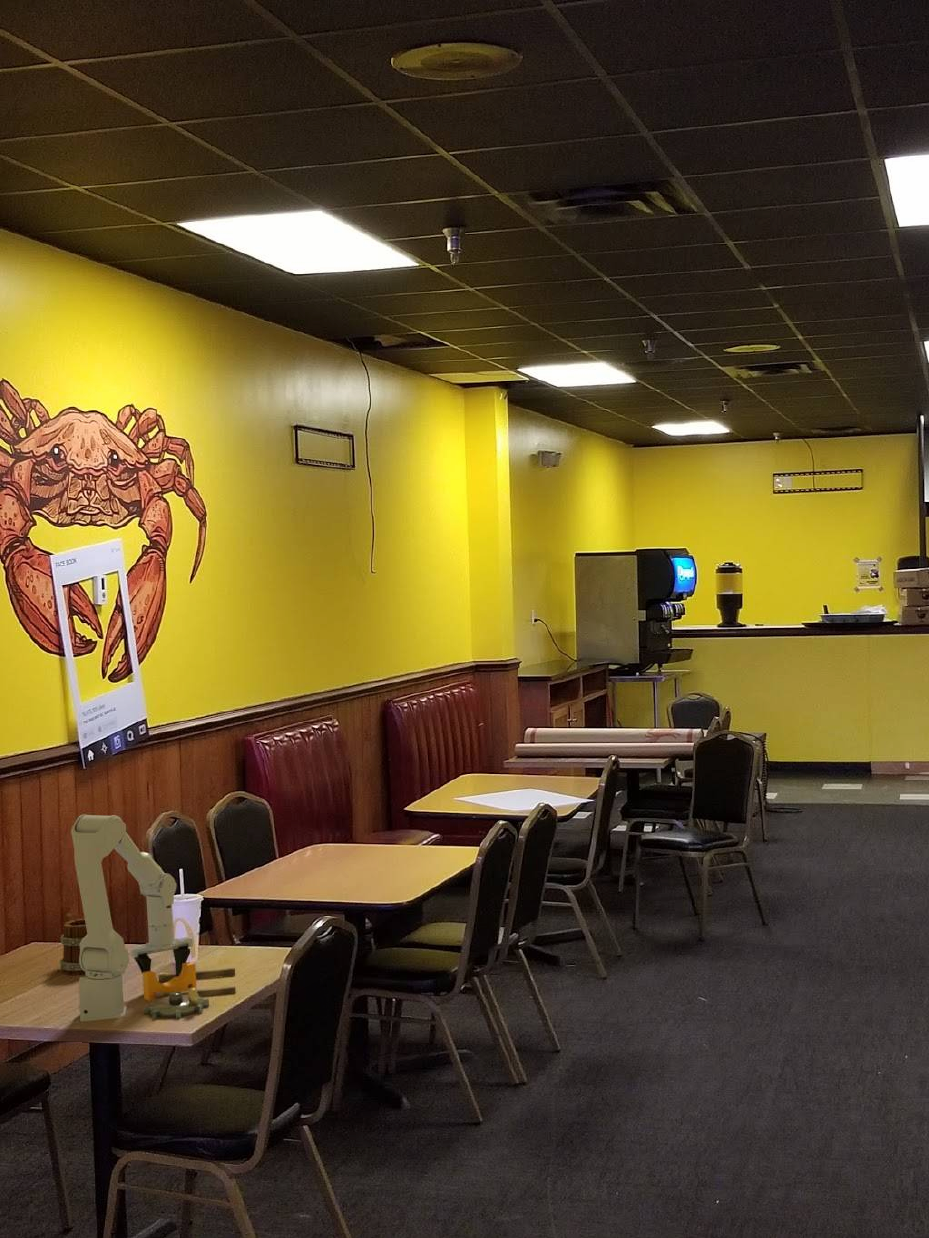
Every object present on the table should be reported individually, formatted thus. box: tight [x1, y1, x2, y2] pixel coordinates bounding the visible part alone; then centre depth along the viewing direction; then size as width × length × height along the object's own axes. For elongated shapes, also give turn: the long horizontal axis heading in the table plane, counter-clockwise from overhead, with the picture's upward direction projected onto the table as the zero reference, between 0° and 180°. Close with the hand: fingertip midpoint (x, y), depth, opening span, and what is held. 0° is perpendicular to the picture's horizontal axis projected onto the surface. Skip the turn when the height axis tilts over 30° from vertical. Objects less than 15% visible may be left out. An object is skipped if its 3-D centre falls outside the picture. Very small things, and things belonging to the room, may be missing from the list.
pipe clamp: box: [141, 961, 197, 1002], centre depth 331 cm, size 12×4×6 cm, turn 129°
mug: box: [59, 912, 88, 976], centre depth 360 cm, size 12×14×15 cm
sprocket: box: [142, 987, 210, 1020], centre depth 318 cm, size 14×14×5 cm
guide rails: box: [155, 967, 237, 999], centre depth 336 cm, size 18×18×2 cm
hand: (163, 982), depth 335 cm, fingers open, 7 cm apart
